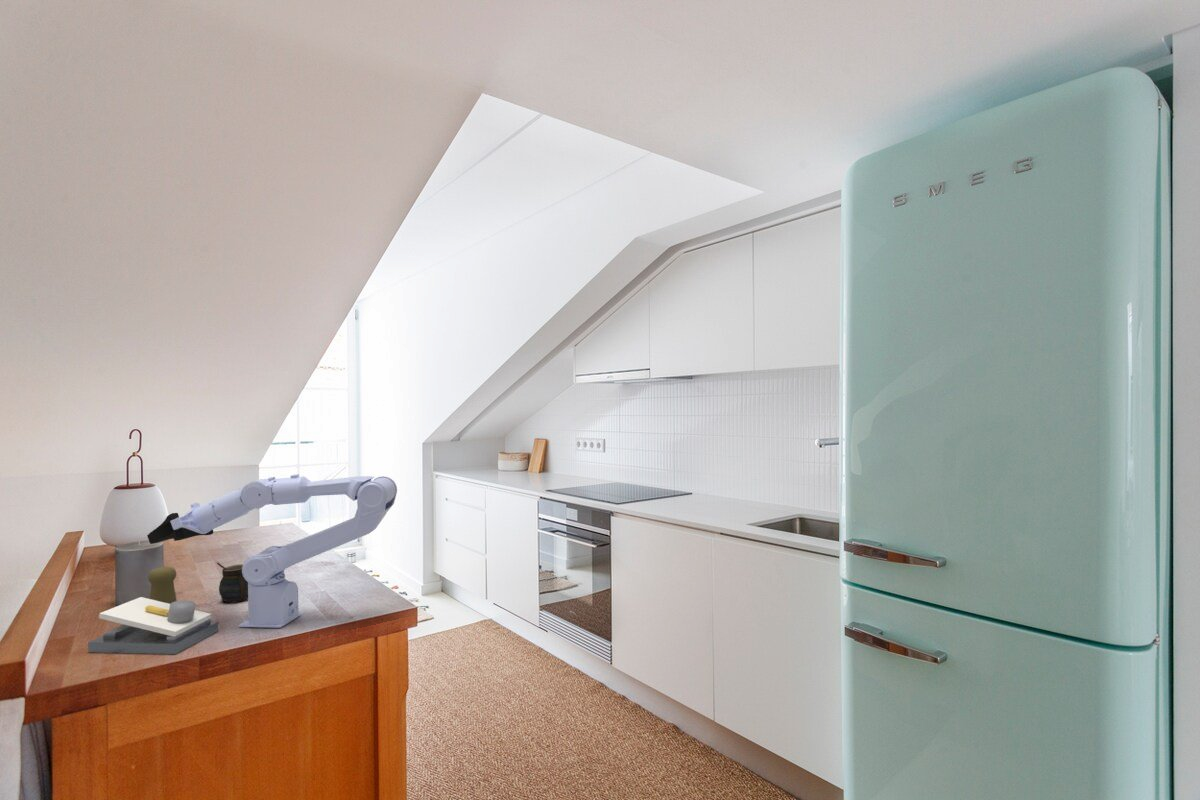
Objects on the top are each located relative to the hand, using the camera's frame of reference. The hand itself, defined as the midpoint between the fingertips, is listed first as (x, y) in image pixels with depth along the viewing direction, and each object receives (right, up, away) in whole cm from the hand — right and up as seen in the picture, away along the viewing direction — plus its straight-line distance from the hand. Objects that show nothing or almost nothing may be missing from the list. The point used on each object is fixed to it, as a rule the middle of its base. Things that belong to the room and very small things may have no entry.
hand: (162, 538), depth 136 cm
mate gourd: (+6, -19, +17) cm, 26 cm away
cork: (-4, -19, +6) cm, 20 cm away
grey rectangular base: (+5, -19, -9) cm, 22 cm away
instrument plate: (+5, -14, -9) cm, 18 cm away
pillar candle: (-17, -19, +17) cm, 31 cm away
